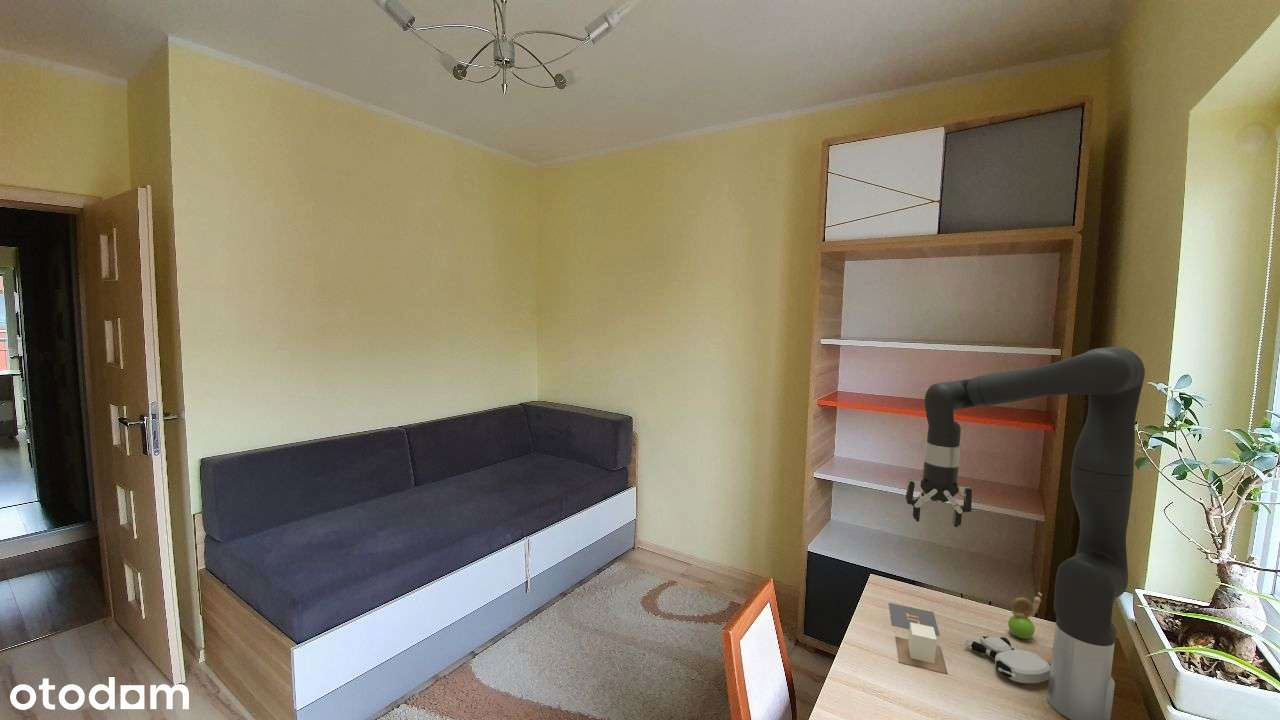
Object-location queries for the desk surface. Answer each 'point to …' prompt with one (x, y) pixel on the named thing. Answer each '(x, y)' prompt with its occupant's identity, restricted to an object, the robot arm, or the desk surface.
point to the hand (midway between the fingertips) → (935, 523)
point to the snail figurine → (1023, 617)
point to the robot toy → (1012, 660)
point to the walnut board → (905, 659)
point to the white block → (922, 642)
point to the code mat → (911, 617)
